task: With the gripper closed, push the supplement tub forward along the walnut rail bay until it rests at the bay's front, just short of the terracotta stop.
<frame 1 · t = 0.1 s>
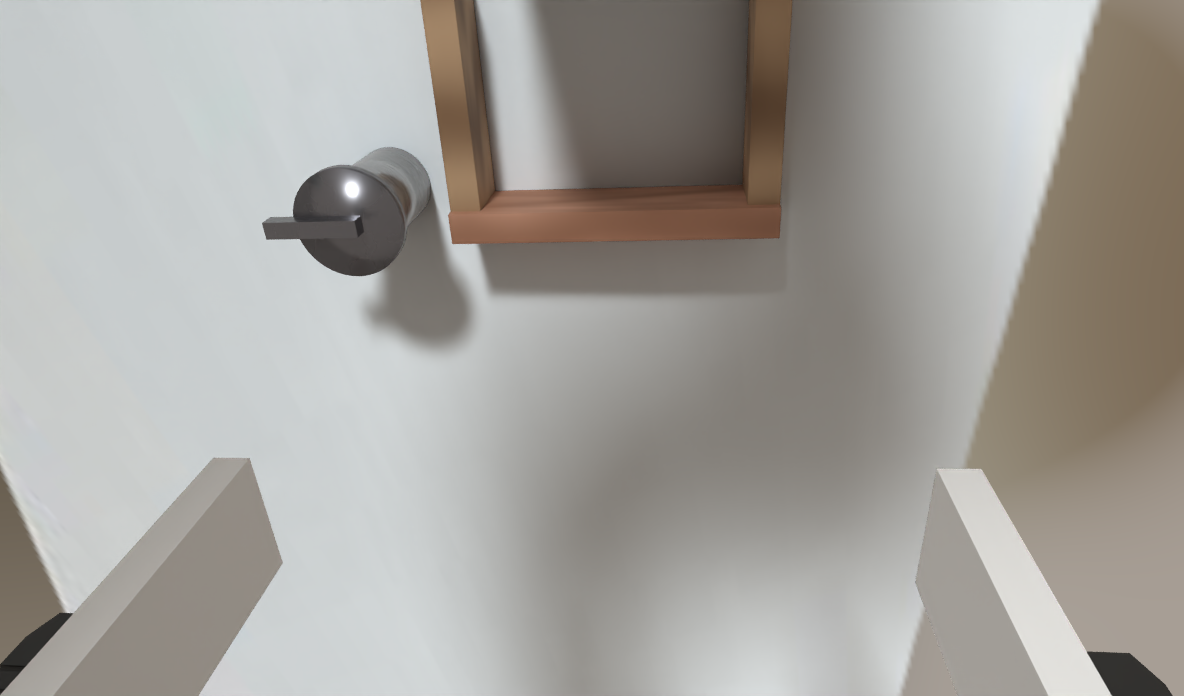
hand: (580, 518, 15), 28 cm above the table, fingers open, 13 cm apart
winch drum: (394, 184, 41), on the table
bay: (612, 99, 38), on the table
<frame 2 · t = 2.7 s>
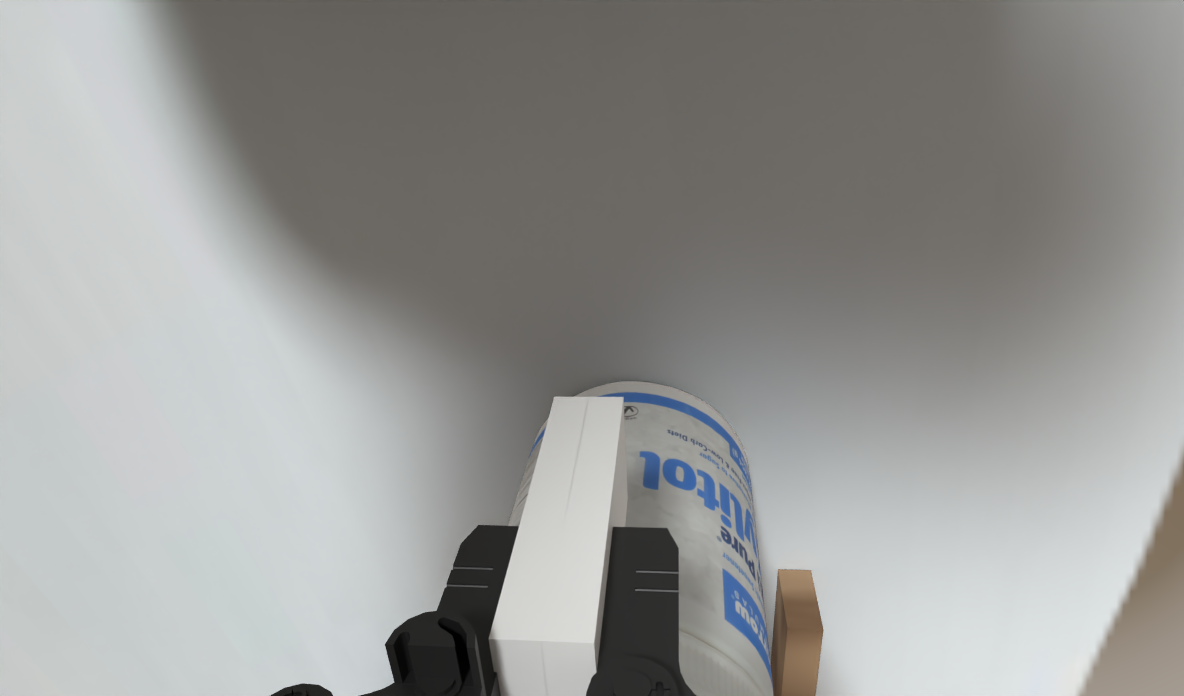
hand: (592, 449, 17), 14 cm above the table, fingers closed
supplement tub: (636, 460, 34), on the table
bay: (642, 652, 40), on the table
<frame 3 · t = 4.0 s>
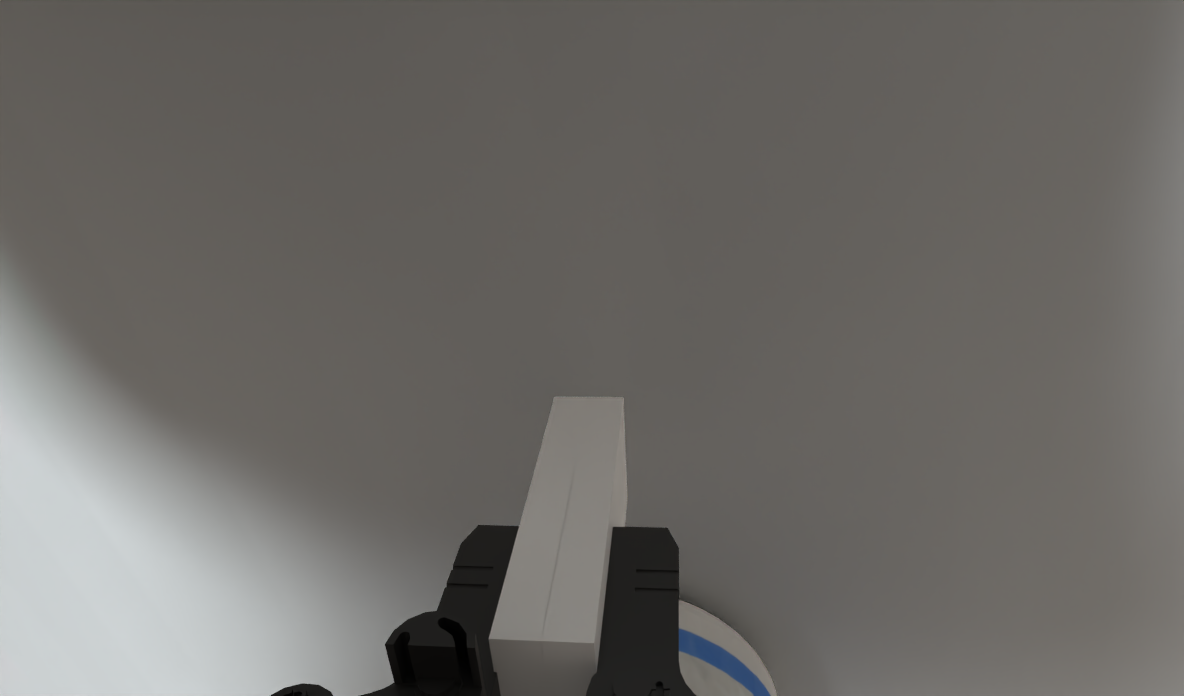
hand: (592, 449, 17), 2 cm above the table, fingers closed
supplement tub: (619, 677, 24), on the table
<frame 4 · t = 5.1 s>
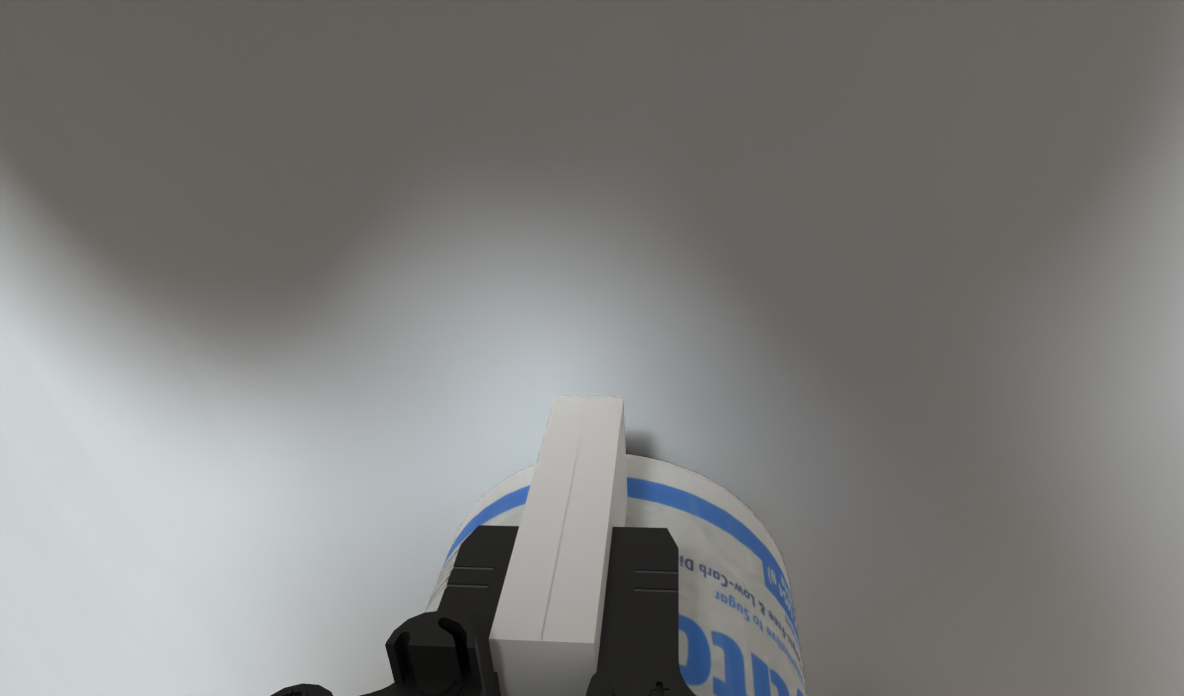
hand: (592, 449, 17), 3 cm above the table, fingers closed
supplement tub: (614, 565, 22), on the table, touching gripper
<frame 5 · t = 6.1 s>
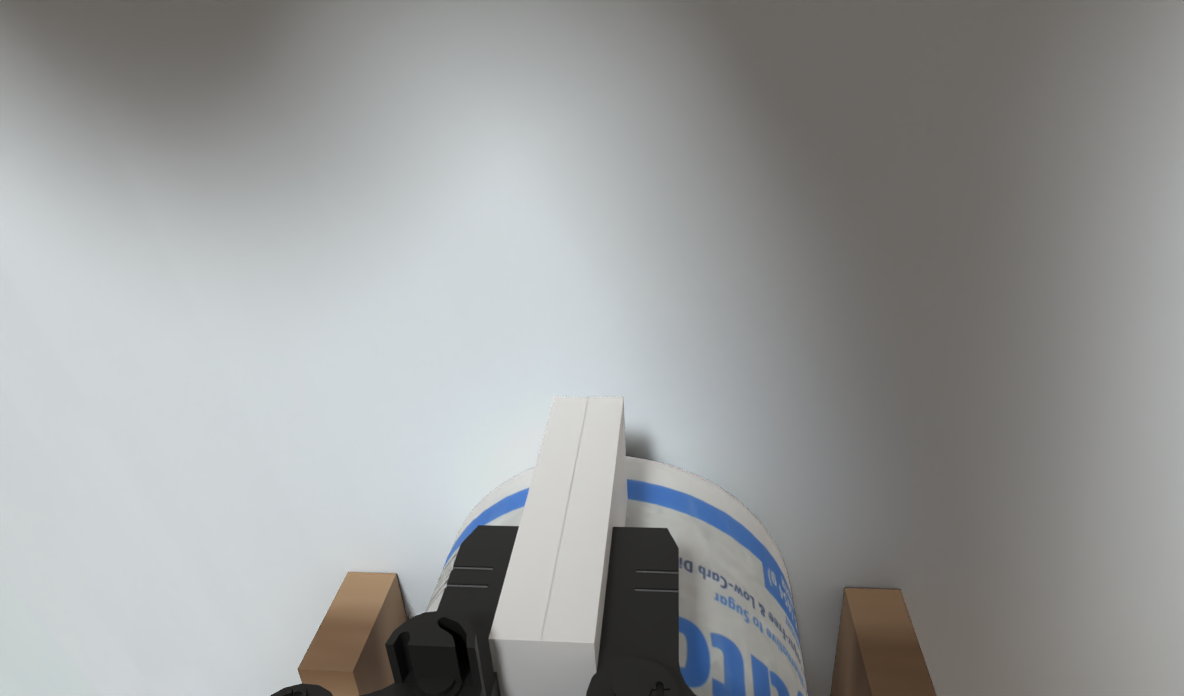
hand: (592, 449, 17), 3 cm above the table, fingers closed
supplement tub: (615, 568, 22), on the table, touching gripper
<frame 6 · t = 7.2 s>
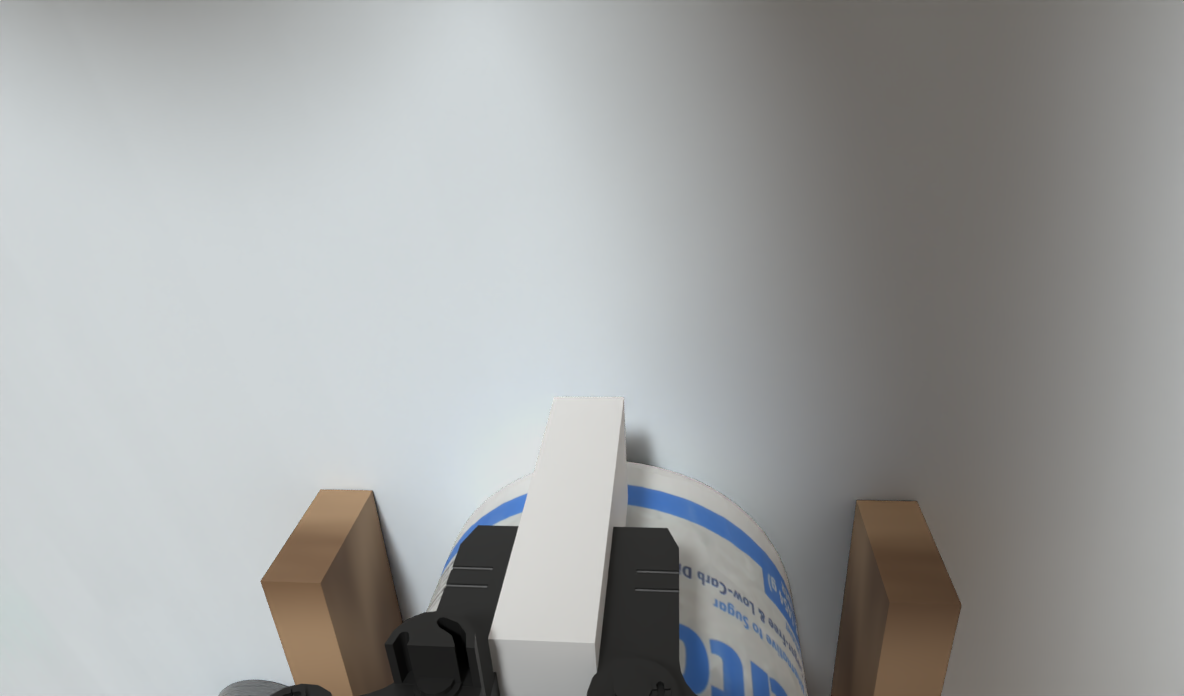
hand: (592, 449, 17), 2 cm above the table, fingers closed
supplement tub: (614, 574, 22), on the table, touching gripper
bay: (614, 653, 23), on the table
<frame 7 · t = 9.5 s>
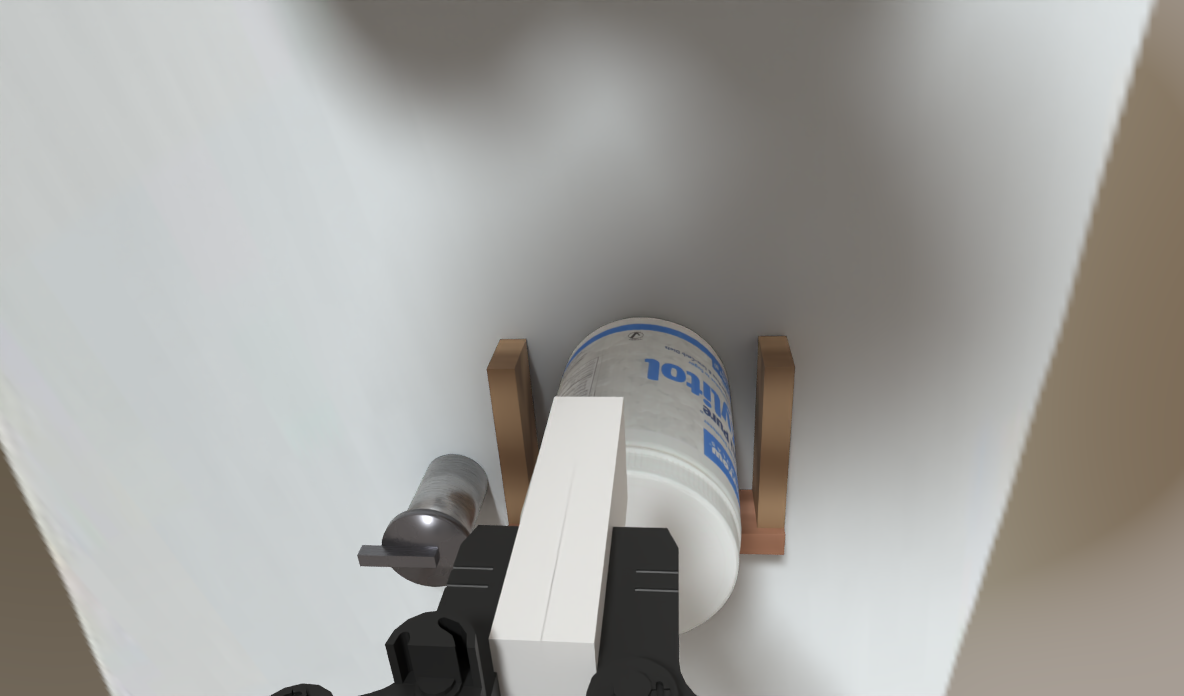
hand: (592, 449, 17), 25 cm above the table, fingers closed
supplement tub: (643, 383, 45), on the table
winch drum: (456, 480, 49), on the table
bay: (643, 427, 46), on the table
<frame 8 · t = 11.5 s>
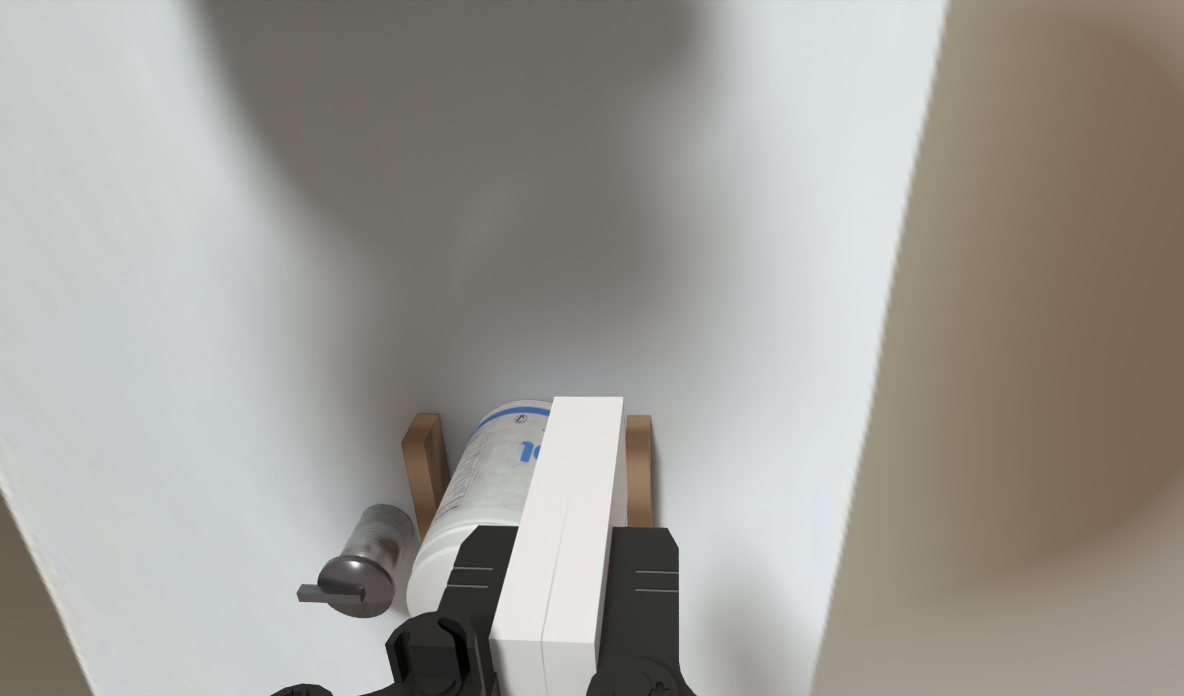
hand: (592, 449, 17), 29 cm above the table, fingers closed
supplement tub: (537, 449, 54), on the table
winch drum: (387, 525, 58), on the table
bay: (539, 485, 55), on the table
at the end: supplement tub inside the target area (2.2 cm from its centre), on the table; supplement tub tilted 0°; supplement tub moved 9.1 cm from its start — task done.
